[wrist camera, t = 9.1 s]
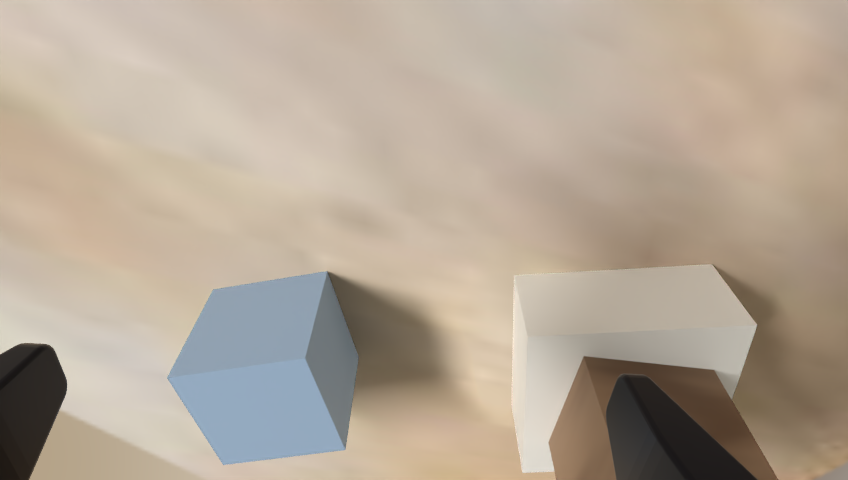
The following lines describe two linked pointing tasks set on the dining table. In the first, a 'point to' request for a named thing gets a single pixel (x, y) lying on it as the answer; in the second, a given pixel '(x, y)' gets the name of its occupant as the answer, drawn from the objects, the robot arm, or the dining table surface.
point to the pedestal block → (616, 335)
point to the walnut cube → (689, 387)
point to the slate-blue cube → (270, 370)
